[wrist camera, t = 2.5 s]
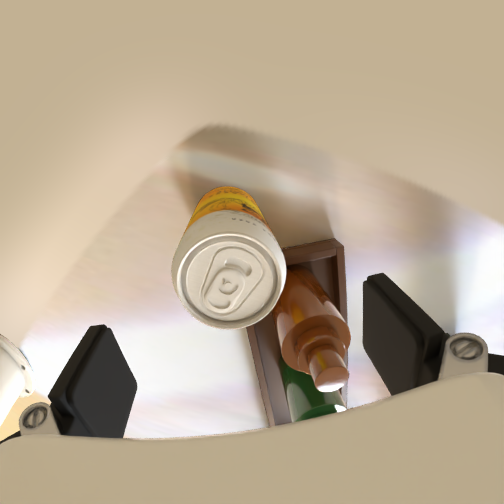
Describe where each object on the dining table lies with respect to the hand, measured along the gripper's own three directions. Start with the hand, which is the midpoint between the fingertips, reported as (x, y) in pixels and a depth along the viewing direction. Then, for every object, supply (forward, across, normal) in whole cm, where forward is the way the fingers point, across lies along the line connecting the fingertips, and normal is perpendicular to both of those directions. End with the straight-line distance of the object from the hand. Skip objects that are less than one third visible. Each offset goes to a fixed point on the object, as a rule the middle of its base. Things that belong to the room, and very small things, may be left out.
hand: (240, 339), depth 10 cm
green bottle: (+19, -4, +19) cm, 27 cm away
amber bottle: (+19, -4, +9) cm, 22 cm away
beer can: (+20, +1, 0) cm, 20 cm away
